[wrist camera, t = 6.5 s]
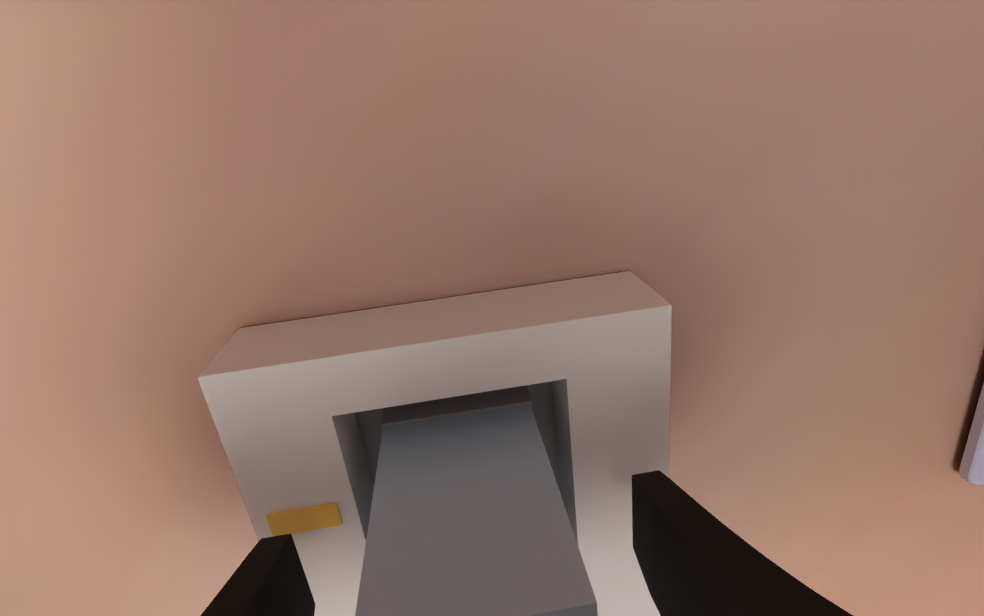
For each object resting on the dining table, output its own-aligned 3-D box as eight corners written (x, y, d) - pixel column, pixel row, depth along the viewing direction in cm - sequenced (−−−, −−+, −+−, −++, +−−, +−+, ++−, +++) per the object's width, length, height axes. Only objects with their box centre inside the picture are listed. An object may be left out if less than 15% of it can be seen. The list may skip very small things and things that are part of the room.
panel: (629, 270, 13) (673, 306, 11) (636, 673, 19) (665, 753, 17) (239, 328, 13) (194, 379, 10) (369, 725, 19) (361, 816, 16)
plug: (525, 380, 14) (600, 599, 8) (535, 491, 15) (606, 751, 9) (384, 402, 13) (345, 645, 7) (408, 513, 15) (393, 794, 9)
